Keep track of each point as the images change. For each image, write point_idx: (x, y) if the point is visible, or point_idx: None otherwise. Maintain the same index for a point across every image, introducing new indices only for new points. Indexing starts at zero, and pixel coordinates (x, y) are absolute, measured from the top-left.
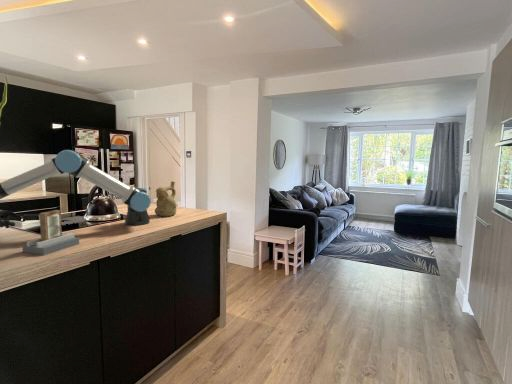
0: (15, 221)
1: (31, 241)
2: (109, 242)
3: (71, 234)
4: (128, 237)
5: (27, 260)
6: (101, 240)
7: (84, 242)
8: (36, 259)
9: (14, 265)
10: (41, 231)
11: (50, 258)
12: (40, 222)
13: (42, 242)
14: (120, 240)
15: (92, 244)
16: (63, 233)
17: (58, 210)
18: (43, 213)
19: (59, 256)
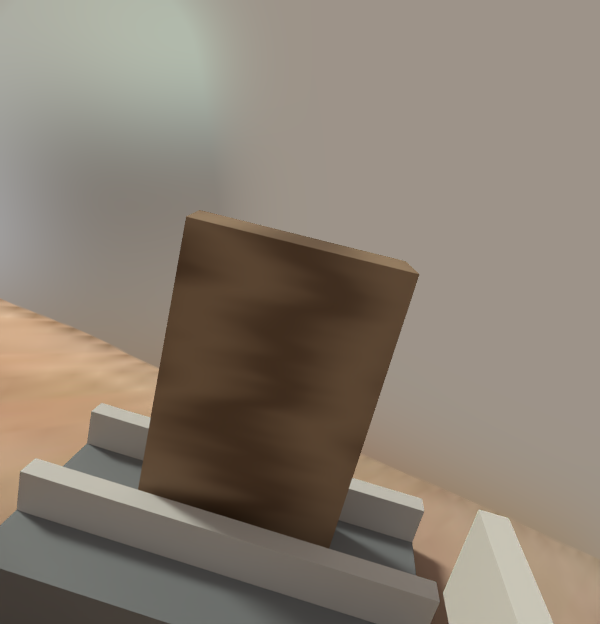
0: (550, 618)
1: (404, 575)
2: (107, 358)
3: (128, 414)
4: (10, 317)
5: None
6: (45, 382)
7: (78, 438)
8: (462, 537)
9: (589, 589)
10: (358, 449)
11: (415, 486)
12: (385, 369)
13: (386, 491)
14: (72, 334)
15: (140, 401)
16: (58, 471)
17: (220, 216)
18: (404, 263)
19: (373, 465)
